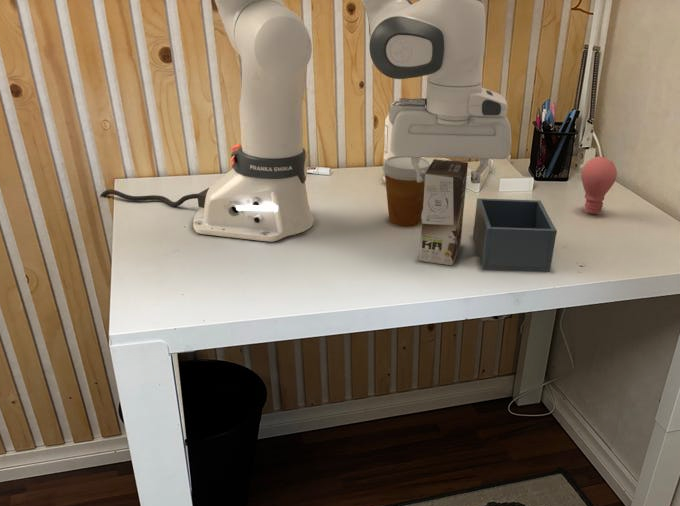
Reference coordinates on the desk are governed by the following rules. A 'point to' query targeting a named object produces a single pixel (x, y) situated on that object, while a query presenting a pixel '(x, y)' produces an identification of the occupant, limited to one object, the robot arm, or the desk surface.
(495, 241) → the open box
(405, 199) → the disposable coffee cup
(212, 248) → the desk surface
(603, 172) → the light bulb
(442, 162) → the coffee box
